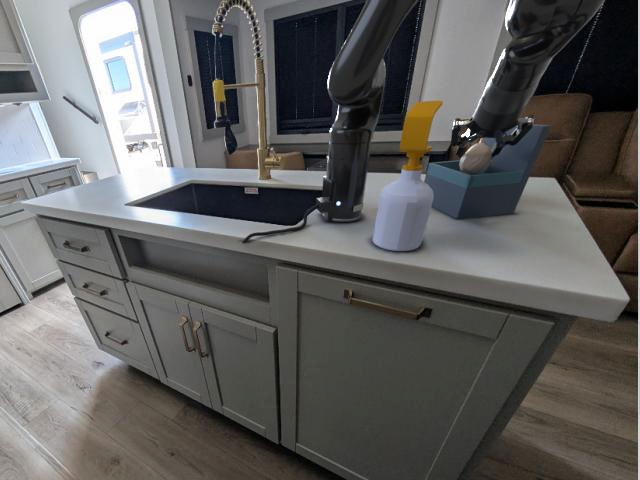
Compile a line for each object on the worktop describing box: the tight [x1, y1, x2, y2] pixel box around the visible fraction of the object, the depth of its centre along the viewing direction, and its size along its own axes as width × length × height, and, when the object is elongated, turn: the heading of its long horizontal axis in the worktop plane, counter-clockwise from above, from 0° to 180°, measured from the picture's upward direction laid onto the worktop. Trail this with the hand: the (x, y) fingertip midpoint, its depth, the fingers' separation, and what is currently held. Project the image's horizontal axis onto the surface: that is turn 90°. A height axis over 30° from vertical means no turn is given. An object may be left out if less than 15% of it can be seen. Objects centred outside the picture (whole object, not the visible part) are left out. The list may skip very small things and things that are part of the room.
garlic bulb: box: [459, 138, 493, 175], centre depth 72 cm, size 7×6×8 cm
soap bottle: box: [372, 100, 443, 252], centre depth 57 cm, size 9×9×25 cm
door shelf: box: [423, 123, 552, 220], centre depth 73 cm, size 14×16×18 cm
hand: (475, 154), depth 73 cm, fingers closed on garlic bulb, 5 cm apart
